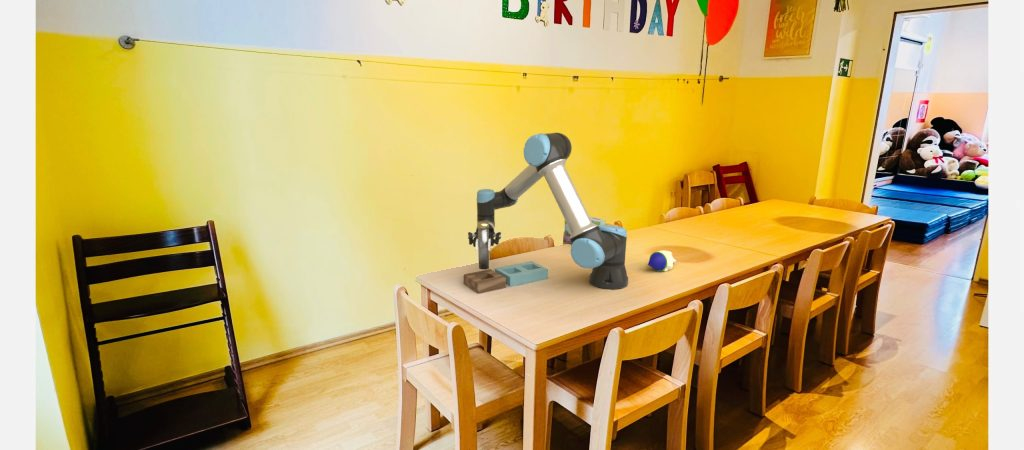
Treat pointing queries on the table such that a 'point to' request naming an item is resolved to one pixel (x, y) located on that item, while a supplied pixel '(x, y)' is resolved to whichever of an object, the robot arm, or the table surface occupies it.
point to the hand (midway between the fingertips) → (482, 246)
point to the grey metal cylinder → (483, 244)
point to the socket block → (484, 281)
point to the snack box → (568, 233)
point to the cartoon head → (661, 261)
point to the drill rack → (522, 273)
